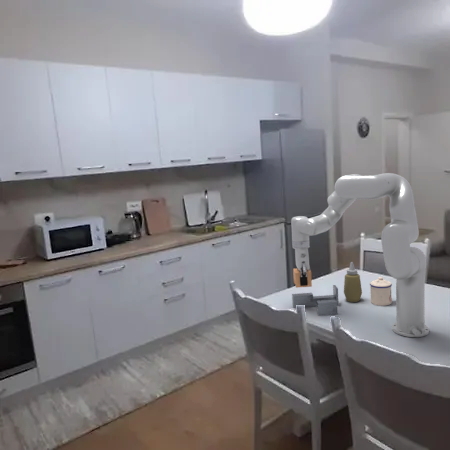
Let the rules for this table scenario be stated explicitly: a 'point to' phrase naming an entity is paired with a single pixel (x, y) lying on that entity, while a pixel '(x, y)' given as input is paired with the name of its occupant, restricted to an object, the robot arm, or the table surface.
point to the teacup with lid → (381, 292)
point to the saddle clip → (297, 276)
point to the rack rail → (313, 298)
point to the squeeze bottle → (352, 284)
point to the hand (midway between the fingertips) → (302, 282)
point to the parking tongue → (327, 307)
